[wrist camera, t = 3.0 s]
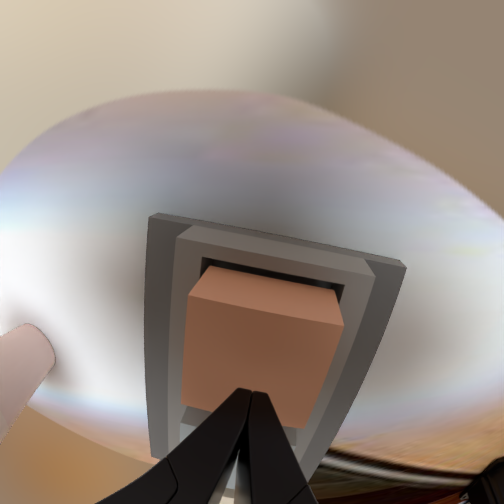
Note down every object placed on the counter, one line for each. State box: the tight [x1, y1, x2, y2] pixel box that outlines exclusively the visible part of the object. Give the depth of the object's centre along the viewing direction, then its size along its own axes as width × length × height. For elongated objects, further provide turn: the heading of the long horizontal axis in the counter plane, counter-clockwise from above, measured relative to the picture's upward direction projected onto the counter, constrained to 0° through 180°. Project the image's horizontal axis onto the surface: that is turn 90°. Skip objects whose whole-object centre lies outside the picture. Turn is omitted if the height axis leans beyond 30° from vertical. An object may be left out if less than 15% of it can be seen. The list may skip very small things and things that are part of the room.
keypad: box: [144, 213, 407, 482], centre depth 14 cm, size 11×17×3 cm, turn 170°
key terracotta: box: [181, 266, 344, 429], centre depth 10 cm, size 4×4×2 cm
